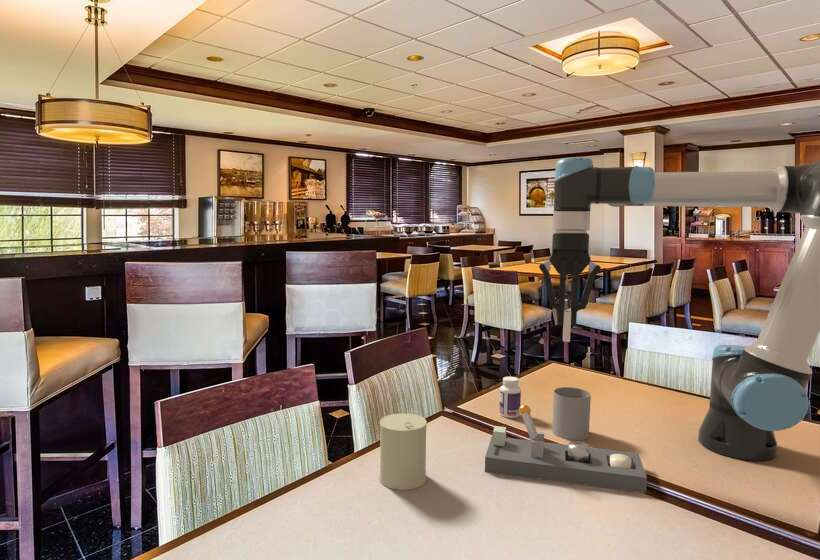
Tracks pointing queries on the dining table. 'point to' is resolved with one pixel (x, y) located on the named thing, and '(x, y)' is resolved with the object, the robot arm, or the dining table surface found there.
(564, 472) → the panel
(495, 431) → the slider
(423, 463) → the can
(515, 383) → the pill bottle
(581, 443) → the grey button
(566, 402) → the cup
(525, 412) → the lever
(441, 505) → the dining table surface
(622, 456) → the ivory button
